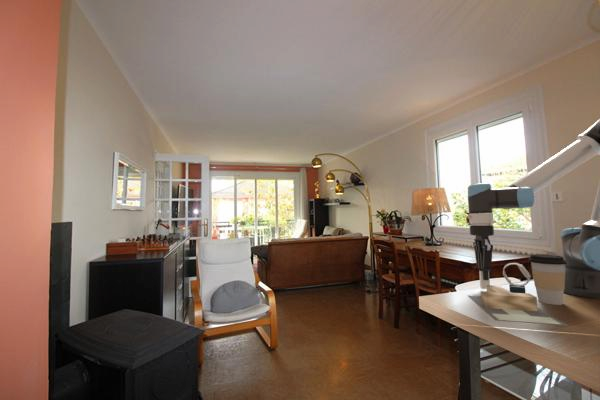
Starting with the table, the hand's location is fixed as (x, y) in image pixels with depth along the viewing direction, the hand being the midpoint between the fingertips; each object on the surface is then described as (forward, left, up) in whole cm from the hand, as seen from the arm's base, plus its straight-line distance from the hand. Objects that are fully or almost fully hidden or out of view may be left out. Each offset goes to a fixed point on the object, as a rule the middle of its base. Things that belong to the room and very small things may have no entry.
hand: (485, 288), depth 101 cm
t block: (0, +14, -1) cm, 14 cm away
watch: (-10, +1, -2) cm, 10 cm away
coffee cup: (-15, +10, -2) cm, 18 cm away
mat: (0, +19, -1) cm, 19 cm away
